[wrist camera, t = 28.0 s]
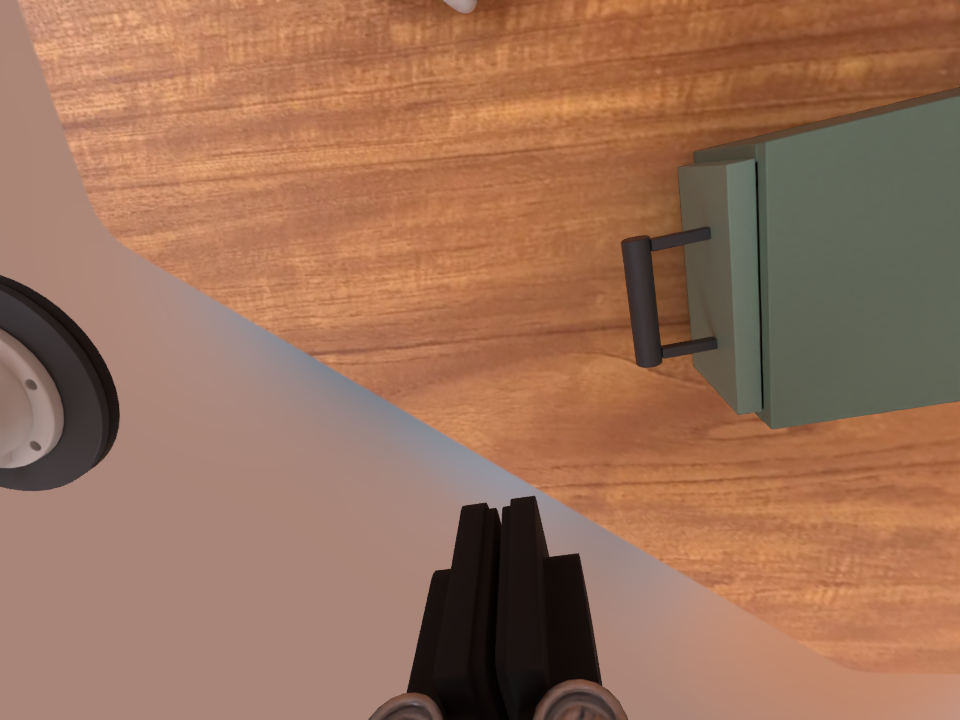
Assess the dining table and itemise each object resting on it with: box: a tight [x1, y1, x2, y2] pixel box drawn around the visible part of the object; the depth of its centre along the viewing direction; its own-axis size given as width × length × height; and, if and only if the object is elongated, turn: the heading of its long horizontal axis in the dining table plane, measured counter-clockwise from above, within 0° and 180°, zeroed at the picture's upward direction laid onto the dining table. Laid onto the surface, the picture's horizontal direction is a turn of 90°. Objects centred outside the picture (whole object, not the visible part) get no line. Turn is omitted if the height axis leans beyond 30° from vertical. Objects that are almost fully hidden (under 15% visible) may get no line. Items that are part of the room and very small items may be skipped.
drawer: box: [621, 158, 763, 415], centre depth 25 cm, size 20×12×7 cm, turn 103°
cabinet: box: [694, 87, 960, 429], centre depth 24 cm, size 17×14×9 cm
